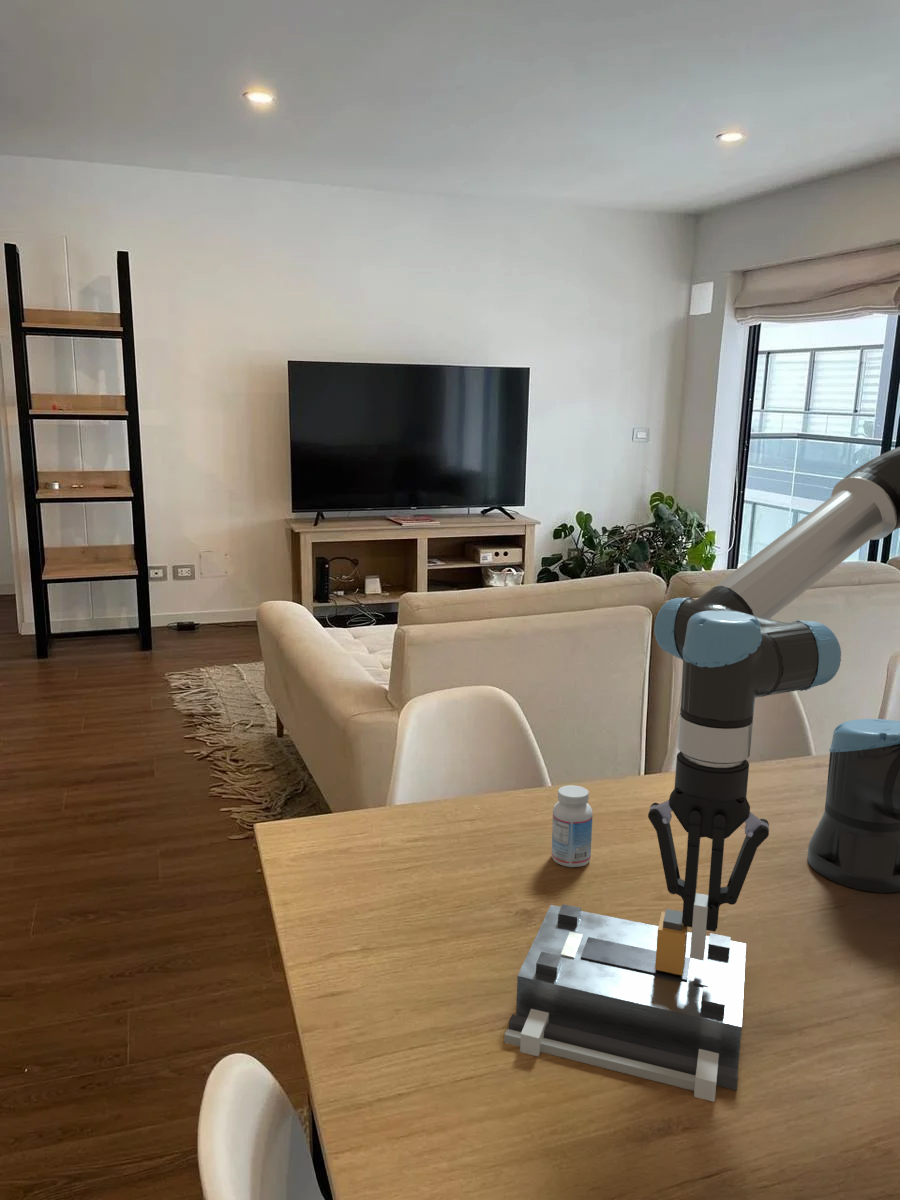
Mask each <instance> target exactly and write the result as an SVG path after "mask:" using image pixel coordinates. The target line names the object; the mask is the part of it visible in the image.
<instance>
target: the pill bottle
mask: <svg viewBox="0 0 900 1200" xmlns="http://www.w3.org/2000/svg"><path fill="white" fill-rule="evenodd" d="M589 793H590V791H589V790H588V789H587V788H585V787H584V786H579V785H574V784H570V785H564V786H561V787H559V789H558V790H557V799H558V801H557V802H556V803H555V804H554V806H553V808H552V827H551V828H552V830H551V831H552V833H551V834H552V835H551V857H552V859H553V862H555V863H556V864H557V865H558V864H559V865H560V866H563V867H567V868H579V867H584V866H587V864H588V863H590V861H591V858H592V840H593V839H592V836H593V834H592V833H593V817H594V816H593V809H592V807H591V805H590V804H589V799H590V798H589V797H590V795H589Z"/></svg>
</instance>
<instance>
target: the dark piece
mask: <svg viewBox="0 0 900 1200" xmlns="http://www.w3.org/2000/svg"><path fill="white" fill-rule="evenodd" d="M548 1022H549V1013H547V1012H543V1011H539V1010H535V1009H531V1010H530V1013H529V1015H528V1018H526V1017H522V1016H518V1015H516V1014H511V1016H510V1019H509V1020H508V1027H507V1028H506V1030H505V1032H504V1038H503V1040H504V1044H508V1045H513V1046H515V1047H519V1052H520V1053H521V1054H522V1053H523V1054H526V1055H531V1056H535V1057H540V1054H541V1053H543V1054H547V1055H551V1056H556V1057H560V1058H564V1059H568V1060H570V1061H571V1060H572V1061H575V1062H580V1063H583V1064H587V1065H591V1066H594V1067H599V1068H603V1069H607V1070H610V1071H615V1072H619V1073H621V1074H626V1075H630V1076H634V1077H638V1078H642V1079H646V1080H650V1081H652V1082H653V1081H654V1082H658V1083H661V1084H665V1085H670V1086H674V1087H678V1088H681V1089H684V1090H689V1091H693V1097H694V1098H697V1099H701V1100H702V1099H703V1100H704V1101H705V1100H706V1101H710V1102H714V1103H715V1102H716V1093H717V1086H718V1087H722V1088H725V1089H729V1090H733V1091H738V1080H739V1068H738V1069H736V1068H732V1067H728V1066H724V1065H719V1064H718V1058H719V1053H715V1052H711V1051H706V1050H702V1049H699V1052H698V1059H695V1058H691V1057H687V1056H682V1055H678V1054H674V1053H670V1052H666V1051H662V1050H658V1049H654V1048H649V1047H645V1046H641V1045H637V1044H633V1043H629V1042H625V1041H621V1040H616V1039H612V1038H608V1037H604V1036H600V1035H596V1034H592V1033H588V1032H584V1031H579V1030H575V1029H571V1028H567V1027H563V1026H559V1025H555V1024H551V1023H548Z"/></svg>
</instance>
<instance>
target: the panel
mask: <svg viewBox="0 0 900 1200" xmlns="http://www.w3.org/2000/svg"><path fill="white" fill-rule="evenodd" d="M658 926H659V925H654V924H648V923H643V922H639V921H633V920H630V919H629V920H628V919H625V918H624V919H623V918H620V917H619V918H618V917H613V916H608V915H604V914H603V915H602V914H599V913H594V912H593V913H592V912H589V911H584V910H582V907H579V906H574V905H569V904H563V903H562V904H561V905H560V906H558V905H552V904H550V905H549V908H548V910H547V912H546V914H545V916H544V917H543V921H542V923H541V925H540V926H539V927H540V928H539V929H538V932H537V933H536V936H535V937H534V940H533V942H532V944H531V946H530V948H529V950H528V953H527V955H526V957H525V959H524V961H523V963H522V965H521V967H520V970H519V971H518V974H517V978H516V1005H515V1006H516V1008H515V1011H516V1012H515V1015H518V1016H522V1017H526V1018H528V1015H529V1013H530V1010H531V1009H535V1010H539V1011H543V1012H547V1013H549V1022H548V1023H551V1024H555V1025H559V1026H563V1027H567V1028H571V1029H575V1030H579V1031H584V1032H588V1033H592V1034H596V1035H600V1036H604V1037H608V1038H612V1039H616V1040H621V1041H625V1042H629V1043H633V1044H637V1045H641V1046H645V1047H649V1048H654V1049H658V1050H662V1051H666V1052H670V1053H674V1054H678V1055H682V1056H687V1057H691V1058H695V1059H698V1052H699V1049H702V1050H706V1051H711V1052H715V1053H719V1058H718V1064H719V1065H724V1066H728V1067H732V1068H736V1069H738V1070H739V1064H740V1063H739V1062H740V1052H741V1049H740V1048H741V1039H742V1026H743V1010H744V991H745V990H744V989H745V973H746V972H745V970H746V952H747V943H745V942H740V941H736V940H731V936H727V935H722V934H716V933H711V932H709V935H706V942H705V952H704V961H703V960H698V959H693V958H690V949H691V936H692V932H689V931H687V944H686V957H685V963H684V969H683V975H678V974H673V973H669V972H664V971H659V970H655V964H656V948H657V933H658Z"/></svg>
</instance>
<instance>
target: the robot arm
mask: <svg viewBox="0 0 900 1200" xmlns="http://www.w3.org/2000/svg"><path fill="white" fill-rule="evenodd" d="M897 529H900V446H897V447H895V448H893V449H890V450H888V451H886V452H884V453H881V454H880V455H878V456H876V457H874V458H872V459H871V460H869V461H867V462H866V463H863V464H862V465H860V466H859V467H857V468H856V469H854V470H853V471H851V472H850V473H849V474H847V475H846V476H845V477H844V478H842V479H841V480H839V481H838V482H837V483H836V484H835V485H834V486H833V489H832V491H831V496H830V497H829V498H828V499H827V500H825V501H824V502H823V503H821V504H820V505H818V506H817V507H816V508H815V509H814V510H812V511H811V512H810V513H808V514H807V515H806V516H805V517H803V518H802V519H800V520H799V521H798V522H797V523H795V524H794V525H793V526H792V527H790V528H789V529H787V530H785V532H784V533H782V534H781V535H779V536H778V537H777V538H776V539H775V540H773V541H772V542H770V543H769V544H767V545H766V546H765V547H763V548H762V550H760V551H759V552H757V553H756V554H755V555H754V556H752V557H751V558H749V559H748V560H747V561H746V562H744V563H743V564H741V565H740V566H739V567H738V568H736V569H735V570H734V571H732V572H731V573H729V575H728V576H726V577H724V578H723V579H722V580H721V581H719V582H717V584H716V585H714V586H712V588H710V589H709V590H708V591H706V592H705V593H703V594H702V595H701V596H699V597H698V598H696V599H694V598H693V597H675V598H671V599H669V600H667V601H666V602H665V603H663V605H662V606H661V608H660V609H659V610H658V612H657V614H656V616H655V620H654V624H653V626H654V628H653V631H654V637H655V640H656V642H657V644H658V646H659V647H660V649H661V650H662V651H664V652H665V653H667V654H669V655H671V656H674V657H676V658H678V659H681V660H682V671H681V673H682V674H681V692H680V693H681V695H680V711H679V716H678V717H679V719H678V732H677V733H678V734H677V750H678V751H679V752H678V753H677V755H676V759H675V760H676V763H675V776H674V777H675V779H674V788H673V790H672V792H670V795H669V798H668V800H666V801H663V802H661V803H659V802H653V803H651V805H650V807H649V811H648V815H647V817H648V820H649V821H650V823H651V825H652V826H653V828H654V830H655V831H656V837H657V841H658V846H659V852H660V858H661V862H662V866H663V867H662V868H663V872H664V877H665V883H666V889H667V891H668V893H669V894H671V895H677V896H679V897H681V899H682V902H683V905H682V912H683V915H682V923H683V926H687V927H688V928H691V933H692V936H691V949H690V958H693V959H698V960H703V961H704V952H705V942H706V936H707V931H708V932H716V930H717V929H718V924H719V911H720V910H719V909H720V907H721V906H722V905H725V904H728V905H732V906H733V905H735V904H736V903H737V902H738V899H739V896H740V894H741V891H742V889H743V887H744V883H745V881H746V879H747V874H748V872H749V871H750V868H751V865H752V864H753V863H752V862H753V860H754V857H755V855H756V853H757V850H758V848H759V846H760V845H762V843H764V841H766V839H767V838H768V837H769V835H770V827H769V826H770V824H769V821H768V820H767V819H765V818H759V817H757V816H756V815H755V814H754V813H752V811H751V807H750V806H751V805H750V804H749V801H748V799H747V796H748V795H747V793H748V781H749V772H750V770H749V769H750V764H749V760H747V759H749V758H750V756H751V745H752V735H753V726H754V725H753V723H754V721H753V719H754V715H755V713H754V712H755V704H756V703H755V702H756V698H762V697H763V698H764V697H767V696H772V695H777V694H784V693H790V692H796V691H800V692H802V691H808V690H810V689H811V688H814V687H818V686H822V685H825V684H827V683H829V682H830V681H832V679H833V678H834V677H835V676H836V675H837V673H838V672H839V669H840V666H841V661H842V650H841V649H842V648H841V646H840V642H839V640H838V638H837V636H836V635H835V633H834V632H833V630H832V629H830V627H828V626H827V625H825V624H823V623H821V622H818V621H814V620H813V621H812V620H811V621H810V620H806V621H805V620H801V619H798V620H795V621H792V622H784V621H778V620H776V619H773V618H774V617H775V616H776V615H778V614H779V613H780V612H781V611H782V610H784V609H785V608H787V607H788V606H789V605H790V604H791V603H793V602H794V601H795V600H796V599H798V598H799V597H800V596H802V595H803V594H804V593H805V592H806V591H807V590H809V589H810V588H811V587H813V586H814V585H815V584H816V583H818V582H819V581H820V580H821V579H823V578H824V577H825V576H826V575H827V574H829V573H830V572H831V571H832V570H834V569H835V568H836V567H838V566H839V565H840V564H842V563H843V562H844V561H845V560H846V559H847V558H849V557H850V556H852V555H853V554H854V553H855V552H856V551H858V550H859V549H860V548H861V547H863V546H864V545H865V544H867V543H868V542H869V541H871V540H872V541H875V540H881V539H884V538H886V537H888V536H889V535H890V534H892V533H893V532H894V531H895V530H897ZM831 738H832V740H831V743H830V747H829V749H828V750H829V759H828V771H827V783H826V794H825V804H824V811H823V815H822V816H821V818H820V819H819V822H818V824H817V826H816V828H815V830H814V833H813V834H812V836H811V838H810V840H809V842H808V848H807V857H806V858H807V862H808V864H809V865H810V867H811V868H812V869H813V870H814V871H816V872H817V873H818V874H819V875H821V876H823V877H824V878H826V879H828V880H830V881H831V882H834V883H837V884H839V885H843V886H845V887H849V888H850V889H851V888H852V889H856V890H860V891H864V892H872V893H884V894H885V893H896V892H897V893H899V892H900V720H893V719H887V718H886V719H885V718H884V719H883V718H860V719H851V720H846V721H844V722H841V723H839V724H838V725H837V726H835V728H834V730H833V732H832V737H831ZM672 813H673V814H674V816H675V817H676V819H677V820H678V822H679V824H680V825H681V826H682V828H683V830H684V831H685V832H686V833H687V848H686V849H687V850H686V861H685V871H684V872H685V875H684V880H683V879H682V878H681V875H680V871H679V870H680V869H679V864H678V860H677V859H678V858H677V853H676V849H675V842H674V838H673V832H672V828H671V827H672V826H671V821H672V816H673V815H672ZM744 823H745V825H744V834H745V837H744V840H743V842H742V844H741V847H740V850H739V853H738V856H737V858H736V861H735V863H734V866H733V868H732V871H731V874H730V876H729V879H728V882H727V885H726V886H722V876H723V875H722V874H723V862H724V852H725V851H724V850H725V839H728V838H729V837H730V836H732V834H734V832H736V831H737V830H738V828H739V827H741V825H743V824H744ZM702 838H708V839H710V840H712V841H711V857H710V865H709V867H710V868H709V869H710V870H709V882H708V892H707V894H703V893H697V886H698V872H699V860H700V847H701V846H700V845H701V839H702Z"/></svg>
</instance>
